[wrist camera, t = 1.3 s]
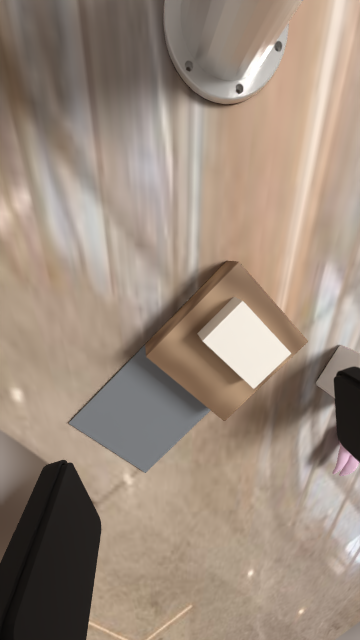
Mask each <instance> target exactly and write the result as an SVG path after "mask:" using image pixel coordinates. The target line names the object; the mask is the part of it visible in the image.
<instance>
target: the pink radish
mask: <svg viewBox="0 0 360 640" xmlns="http://www.w3.org/2000/svg"><path fill="white" fill-rule="evenodd" d="M339 442H340V441H339ZM358 464H359V462H358V461H357V460H356V459H355V458H354V457H353V456H352V455H351V454H350V453H349V452H348V451H347V450H346V449H345V448H344V447H343V446H342V445H341V443H340V450H339V454H338V460H337V464H336V467H335V469H334V470H333V474H335V473H337V472H338V471H340V470H341V469H342V468H343V469H342V471H341V472H340V474H339V476H344V475H347V474H350V473H352V472H354V471H355V469H356V468H357V466H358Z"/></svg>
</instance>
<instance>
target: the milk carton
mask: <svg viewBox="0 0 360 640" xmlns="http://www.w3.org/2000/svg"><path fill="white" fill-rule="evenodd" d="M353 366H356V367H359V368H360V353H359V352H356V351H354V350H352V349H350V348H348V347H345V346H343V345H340V346H339V347H338V349H337V350H336V352H335V353H334V355H333V357H332V358H331V360H330V361H329V363H328V364H327V366H326V368H325V369H324V371H323V372H322V374H321V375H320V377H319V378H318V380H317V382H316V385H317V386H319V387H320V388H321V389H323V390H324V391H325V392H327V393H328V394H329V395H331V396H332V397H333V398H335V393H334V377H336V374H337V372H338V371H340V370H343V369H346V368H350V367H353Z"/></svg>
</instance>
